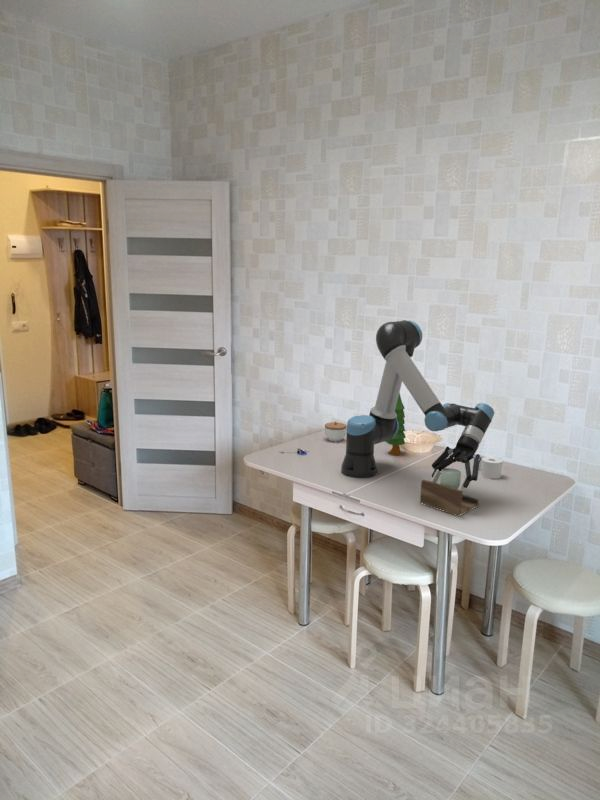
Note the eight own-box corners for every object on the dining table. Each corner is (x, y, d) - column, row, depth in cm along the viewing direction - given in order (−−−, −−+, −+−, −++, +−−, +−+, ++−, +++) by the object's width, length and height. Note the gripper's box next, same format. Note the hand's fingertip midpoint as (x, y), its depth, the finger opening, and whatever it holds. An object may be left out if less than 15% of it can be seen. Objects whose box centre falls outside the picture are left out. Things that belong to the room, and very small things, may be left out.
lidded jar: (346, 443, 301) (347, 424, 299) (325, 442, 301) (325, 424, 299) (344, 437, 312) (345, 419, 310) (323, 436, 311) (324, 418, 309)
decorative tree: (392, 457, 281) (396, 392, 274) (380, 451, 288) (383, 389, 282) (409, 454, 285) (413, 391, 279) (396, 448, 293) (399, 387, 287)
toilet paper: (478, 469, 266) (480, 454, 264) (503, 475, 259) (505, 459, 257) (470, 474, 260) (471, 458, 258) (495, 480, 252) (497, 464, 251)
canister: (442, 506, 221) (444, 474, 218) (436, 499, 228) (438, 468, 225) (461, 506, 222) (463, 474, 219) (454, 498, 228) (457, 468, 226)
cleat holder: (440, 494, 236) (442, 471, 234) (478, 505, 225) (480, 482, 223) (420, 503, 226) (421, 480, 224) (458, 516, 215) (460, 491, 213)
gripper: (501, 452, 224) (476, 503, 216) (446, 439, 239) (421, 486, 232) (495, 441, 219) (470, 493, 211) (439, 428, 234) (414, 476, 227)
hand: (444, 490), depth 221 cm, fingers open, 10 cm apart
